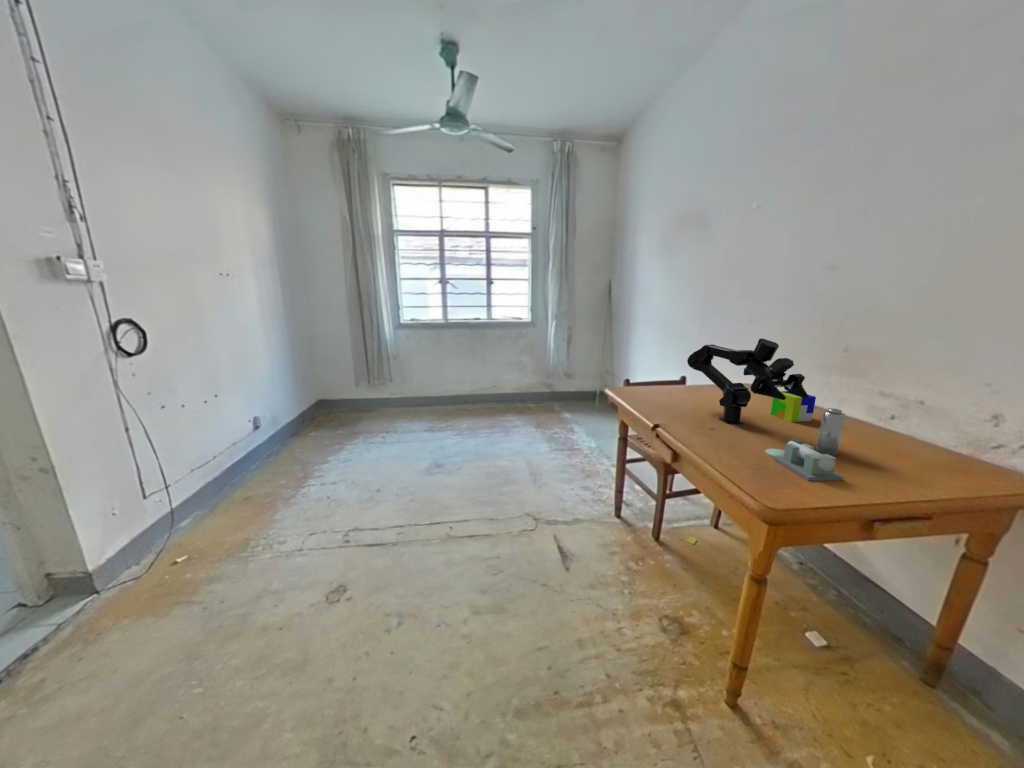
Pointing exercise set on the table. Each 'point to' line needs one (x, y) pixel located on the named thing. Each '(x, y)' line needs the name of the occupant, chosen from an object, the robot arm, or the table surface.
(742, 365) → the robot arm
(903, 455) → the table surface
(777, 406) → the puzzle toy
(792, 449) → the shaft stand
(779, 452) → the pale green disc
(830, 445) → the canister
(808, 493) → the table surface
